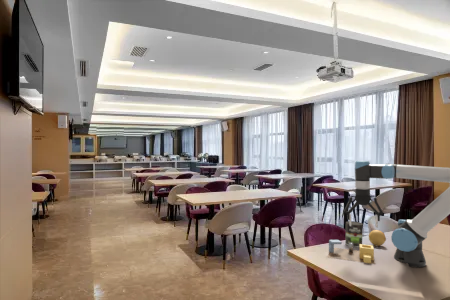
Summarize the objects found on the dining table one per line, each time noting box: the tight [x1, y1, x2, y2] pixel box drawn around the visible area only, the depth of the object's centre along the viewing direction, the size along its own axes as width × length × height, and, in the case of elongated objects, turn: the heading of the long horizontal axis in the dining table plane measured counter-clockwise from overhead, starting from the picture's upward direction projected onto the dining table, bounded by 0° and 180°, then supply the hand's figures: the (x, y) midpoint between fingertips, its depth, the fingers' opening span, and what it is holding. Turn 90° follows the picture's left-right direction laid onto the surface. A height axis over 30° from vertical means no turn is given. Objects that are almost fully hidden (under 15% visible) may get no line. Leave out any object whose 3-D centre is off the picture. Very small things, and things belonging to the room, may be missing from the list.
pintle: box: [348, 243, 354, 252], centre depth 182 cm, size 2×2×5 cm
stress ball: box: [368, 229, 387, 247], centre depth 200 cm, size 10×10×10 cm
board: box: [327, 247, 376, 265], centre depth 177 cm, size 24×20×2 cm
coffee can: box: [344, 220, 364, 248], centre depth 201 cm, size 10×10×14 cm
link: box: [358, 243, 375, 264], centre depth 171 cm, size 13×7×6 cm, turn 158°
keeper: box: [328, 239, 342, 253], centre depth 182 cm, size 6×5×6 cm
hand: (363, 226), depth 173 cm, fingers open, 13 cm apart
